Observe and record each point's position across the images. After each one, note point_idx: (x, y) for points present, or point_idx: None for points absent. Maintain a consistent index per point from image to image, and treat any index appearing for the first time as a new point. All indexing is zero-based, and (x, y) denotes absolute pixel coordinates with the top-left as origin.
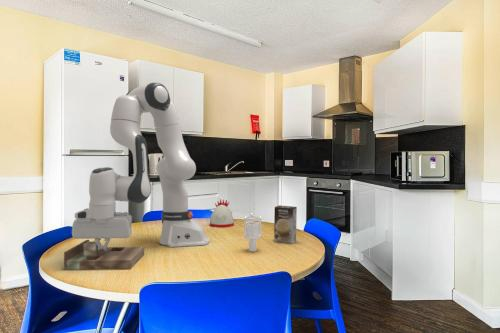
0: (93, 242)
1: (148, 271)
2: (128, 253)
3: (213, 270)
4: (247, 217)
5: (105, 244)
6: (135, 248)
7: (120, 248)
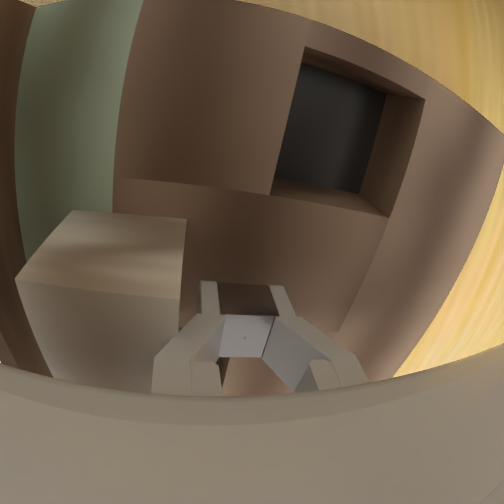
0: (117, 343)
1: (407, 367)
2: (415, 290)
3: (497, 342)
4: None
5: (286, 371)
6: (475, 165)
7: (385, 81)
